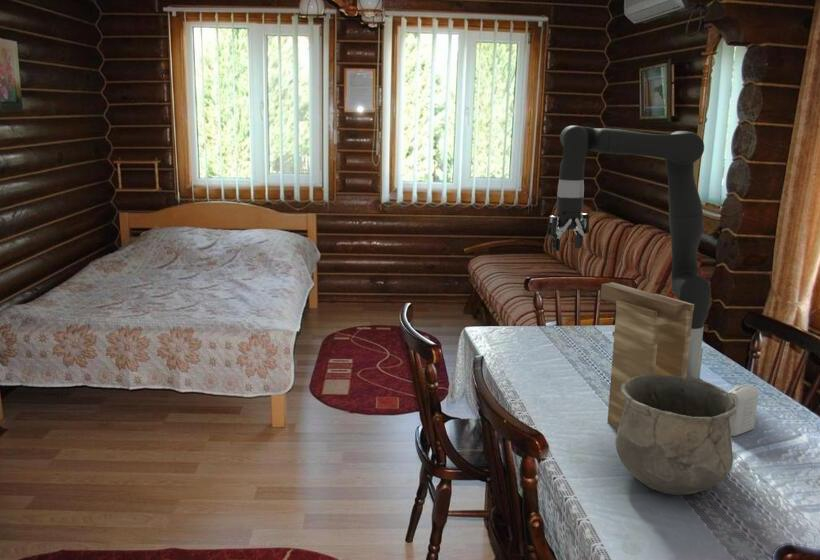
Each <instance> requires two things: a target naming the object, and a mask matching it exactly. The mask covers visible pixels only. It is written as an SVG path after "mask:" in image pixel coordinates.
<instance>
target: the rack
mask: <svg viewBox="0 0 820 560" xmlns="http://www.w3.org/2000/svg"><path fill="white" fill-rule="evenodd" d="M655 294H656V295H659V296H663V297H666V298H670V299H673V300H677V301H680V300H679V299H677V298H674V297H673V298H672V297H670V296H666V295H662V294H658V293H655ZM680 302H684V301H680ZM684 303H687V304H688V306H687V315H686V320H683V321H678V322H672V321H669V320H666V319H663V318H660V317H657V314H658V311H654V310H651V309H648V308H644V307H641V306H638V305H635V304H631V303H628V302H625V301H622V300H617V301H616V303H615V306H616V307H615V308H616V309H615V321H614V322H615V323H614V332H615V333H614V336H613V347H612V360H611V372H610V373H611V375H610V385H609V395H608V397H609V399H608V412H607V423H608V424H609V423H610V425H611V424H612V425H611V426H613V425H614V426H613V427H615V428H617V429H618V427H619V424H620V421H621V417H622V414H623V411H624V407H625V401H624V399H625V398H624V396H623V395H622V394H621V389H620V388H621V385H622V384H623V383H626V382H627V380H630V379H633V378H634V377H637V376H642V375H667V376H668V375H672V376H680V377H682V378H683V380H684V379H685V378H686V374H687V364H688V355H689V345H690V336H691V326H692V317H693V310H694V304H691V303H688V302H684Z"/></svg>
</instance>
